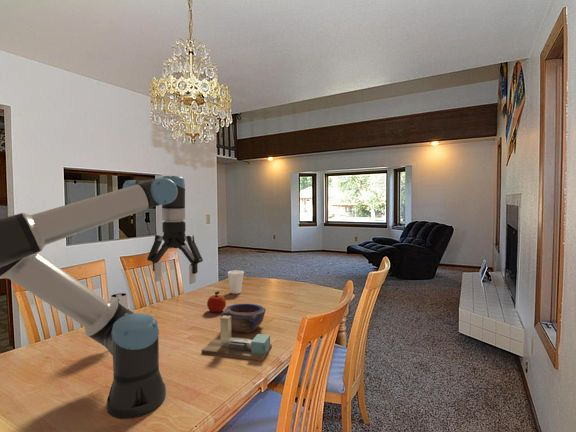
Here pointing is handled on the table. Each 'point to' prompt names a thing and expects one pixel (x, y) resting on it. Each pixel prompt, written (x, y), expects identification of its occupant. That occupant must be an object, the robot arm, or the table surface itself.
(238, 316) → the bowl
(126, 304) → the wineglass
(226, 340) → the slide bar
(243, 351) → the rail base
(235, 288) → the cup
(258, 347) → the socket block
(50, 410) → the table surface
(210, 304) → the fruit
